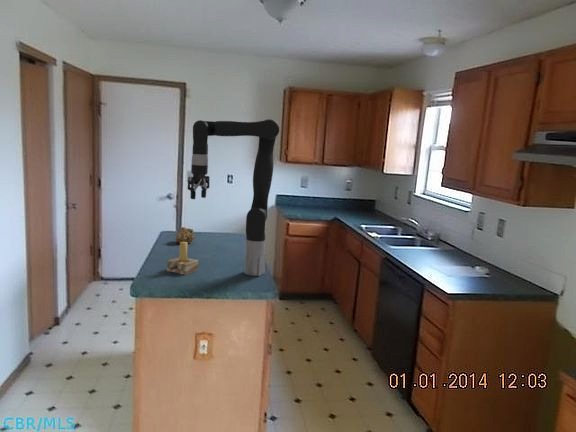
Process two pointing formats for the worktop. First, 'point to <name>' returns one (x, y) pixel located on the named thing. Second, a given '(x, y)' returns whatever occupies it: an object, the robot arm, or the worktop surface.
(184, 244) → the peg
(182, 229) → the rock
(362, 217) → the worktop surface
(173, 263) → the socket mount
